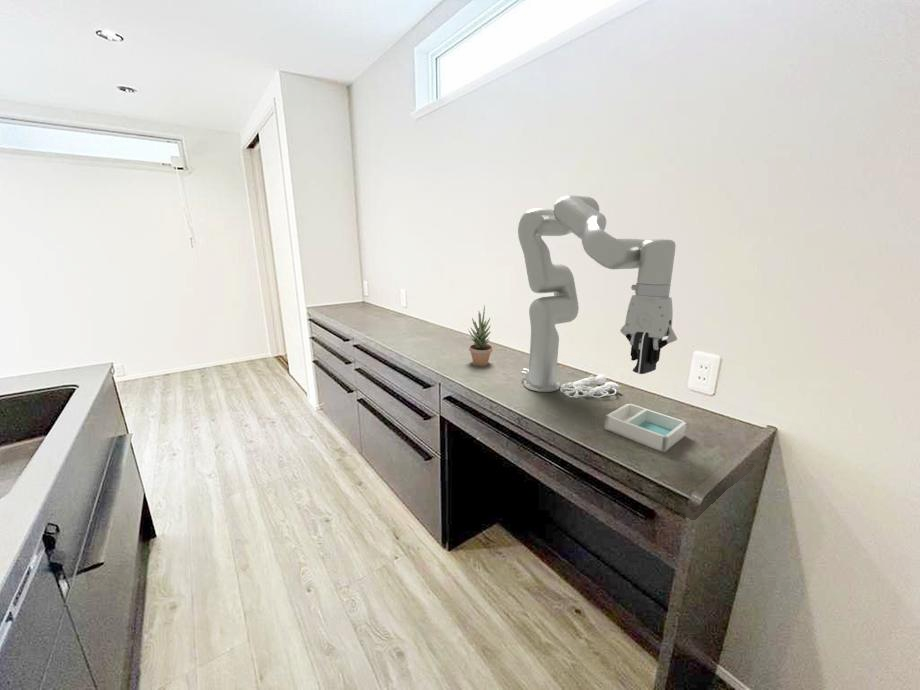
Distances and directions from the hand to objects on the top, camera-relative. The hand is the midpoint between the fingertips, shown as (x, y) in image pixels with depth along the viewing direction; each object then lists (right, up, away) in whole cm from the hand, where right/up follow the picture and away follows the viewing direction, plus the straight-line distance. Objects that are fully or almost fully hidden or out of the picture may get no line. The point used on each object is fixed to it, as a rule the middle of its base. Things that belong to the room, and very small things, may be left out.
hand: (644, 360), depth 100 cm
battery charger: (0, -3, +1) cm, 3 cm away
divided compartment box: (+2, -20, +5) cm, 20 cm away
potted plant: (-39, -4, +61) cm, 72 cm away
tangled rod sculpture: (-3, -12, +32) cm, 34 cm away
